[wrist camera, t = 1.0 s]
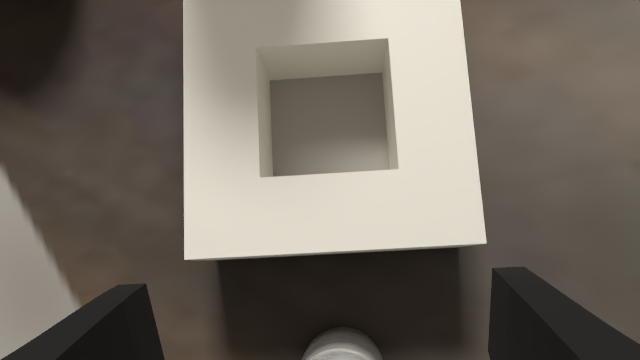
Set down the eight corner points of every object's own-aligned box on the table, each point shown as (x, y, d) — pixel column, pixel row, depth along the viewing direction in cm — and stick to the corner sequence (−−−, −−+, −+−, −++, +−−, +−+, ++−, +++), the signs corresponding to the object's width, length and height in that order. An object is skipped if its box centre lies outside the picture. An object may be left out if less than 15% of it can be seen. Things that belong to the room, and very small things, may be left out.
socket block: (458, 247, 22) (486, 243, 18) (216, 260, 22) (184, 259, 18) (436, 19, 24) (456, -36, 19) (213, 36, 24) (182, -14, 20)
